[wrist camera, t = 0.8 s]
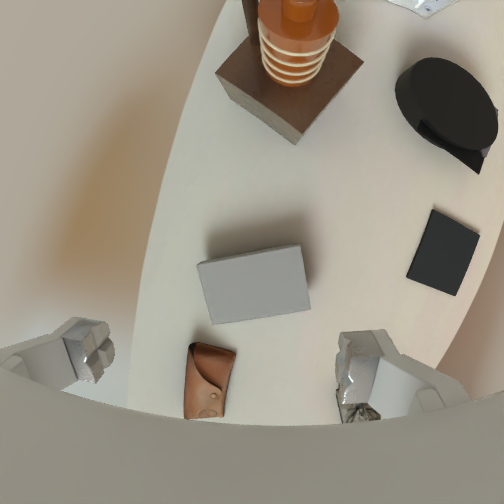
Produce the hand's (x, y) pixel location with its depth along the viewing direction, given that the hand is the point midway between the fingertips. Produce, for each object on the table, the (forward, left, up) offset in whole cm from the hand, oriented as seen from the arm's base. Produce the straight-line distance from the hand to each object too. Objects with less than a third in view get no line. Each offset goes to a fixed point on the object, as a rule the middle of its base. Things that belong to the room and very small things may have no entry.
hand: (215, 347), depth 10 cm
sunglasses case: (+24, +23, -36) cm, 49 cm away
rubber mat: (-24, +21, -36) cm, 48 cm away
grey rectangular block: (-2, +11, -34) cm, 35 cm away
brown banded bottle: (-12, -14, -24) cm, 30 cm away
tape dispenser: (-34, -1, -36) cm, 50 cm away
